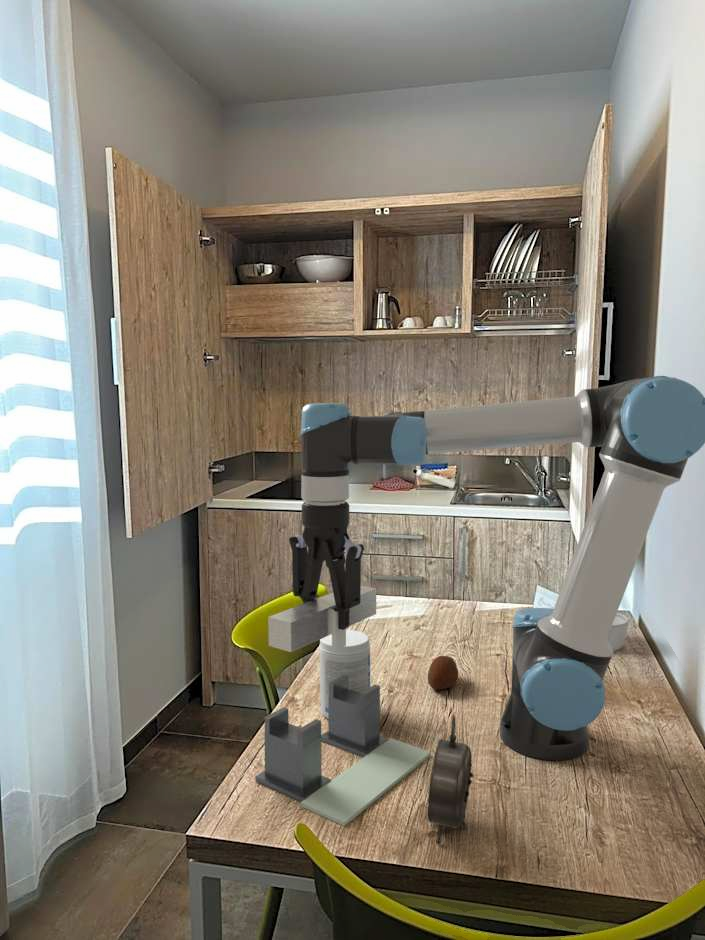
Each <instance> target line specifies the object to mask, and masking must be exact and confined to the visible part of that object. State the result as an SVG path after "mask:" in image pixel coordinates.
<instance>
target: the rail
mask: <svg viewBox="0 0 705 940" xmlns="http://www.w3.org/2000/svg"><path fill="white" fill-rule="evenodd" d="M335 607H336V604H335V599H334V594H333V592H331V593H328V594H325V595H323V596H319V597H318V598H316V599H314V600H312V601H309V602H306V603H304V604H303V603H301V604H298V605H296V606H293V607H291V608H288V609H285V610H283V611H281V612H278V613H275V614H272V615H270V616H268V619H267V620H268V625H267V626H268V647H271V648H274V649H278V650H282V651H286V652H289V653H293V652H295V651H297V650H299V649H301V648H304V647H307V646H309V645H311V644H314V643H315V642H318V641H320V639H322V638H324V637H327V636H329V635H331V634H332V609H333V608H335ZM375 615H377V588H374V587H370V586H365V585H361V595H360V604H359V605H357V606H354V607H352V608H350V609H349V627H351V626H353V625H355V624H358V623H360V622H361V621H364V620H367V619H369V618H371V617H373V616H375Z"/></svg>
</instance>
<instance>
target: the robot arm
mask: <svg viewBox="0 0 705 940" xmlns="http://www.w3.org/2000/svg"><path fill="white" fill-rule="evenodd" d="M300 428H301V429H300V433H299V435H300V445H301V447H300V448H301V450H300V451H301V452H300V453H301V455H300V456H301V493H300V494H301V495H300V497H301V499H302V500H303V501H304V502H303V503H302V504H301V523H302V526H304V529H303V531H302V534H298V535H294V536H290V537H289V539H288V541H289V545H290V549H291V555H292V559H291V560H292V561H291V563H292V564H291V565H292V594H293V596H294V597H299V598H300V599H301V601H302V604H304V603H306V602H309V601H312V600H314V599H317V598H320V595H318V592H319V584H320V579H321V574H322V568H323V564H324V562H325V566H326V567H327V569H328V571H329V575H330V581H331V587H332V593H333V594H334V599H335V604H336V607H335V608H333V609H332V650H335V651H336V650H338V649H340V648H342V647H344V646H346V630H347V629H349V627H350V626H349V609H350V608H352V607H354V606H357V605H359V604H360V595H361V586H362V585H361V584H362V583H361V582H362V581H361V580H362V579H361V578H362V577H361V574H362V573H361V572H362V568H361V567H362V557H363V554H364V551H365V547H364V545H363V544H362V543H360V544H356V543H354V542H353V541H352V540H350V536H349V532H348V527H349V524H350V504H349V502H348V501H347V500H348V499H349V498H350V465H377V466H378V465H380V466H382V465H384V466H386V465H387V466H400V467H406V466H419V465H423V464H424V462H425V461H426V457H427V455H432V454H433V455H435V454H447V453H458V452H460V453H461V452H470V451H485V450H498V449H507V448H508V449H509V448H521V447H524V448H525V447H533V446H535V447H536V446H545V445H546V446H548V445H559V444H571V443H572V444H573V443H580V444H581V445H583V447H585V448H594V447H595V448H596V447H597V448H598V447H599V448H600V447H601V449H600V451H599V454H598V455H599V458H600V460H601V462H602V464H603V466H604V472H603V473H602V477H601V479H600V483H599V485H598V488H597V490H596V493H595V496H594V498H593V501H592V504H591V507H590V509H589V512H588V515H587V518H586V520H585V523H584V525H583V528H582V530H581V534H580V536H579V540H578V541H577V545H576V547H575V550H574V553H573V556H572V559H571V561H570V564H569V566H568V569H567V572H566V575H565V578H564V579H563V580H564V581H563V583H562V586H561V589H560V592H559V593H558V596H557V600H556V602H555V605H554V607H553V608H551V607H549V608H548V607H529V608H523V609H520V610H518V611H516V612H515V613H514V617H513V624H512V625H511V626H512V627H511V628H512V630H513V633H512V638H513V639H512V656H511V658H512V659H511V660H512V661H511V663H512V664H511V690H510V691H511V692H510V694H509V698H508V699H507V702H506V704H505V707H504V710H503V713H502V714H501V718H500V722H499V736H500V739H501V740H502V742H503V743H504V744H505V745H506V746H508V747H509V748H510V749H512V750H514V751H516V752H517V753H519V754H521V755H523V756H528V757H530V758H531V757H532V758H535V759H540V760H548V761H564V760H569V759H571V760H572V759H576V758H578V757H580V756H583V755H584V754H585V753H586V752H587V751H588V749H589V745H590V731H589V726H588V725H590V724H592V723H594V721H595V720H596V719H597V718H598V717H599V716H600V714H601V713H602V710H603V708H604V706H605V700H606V687H605V684H604V678H605V675H606V672H607V670H608V667H609V665H610V662H611V659H612V657H613V656H614V655H613V654H614V651H613V649H612V647H611V645H610V643H609V640H608V634H609V632H610V629H611V627H612V624H613V621H614V619H615V616H616V614H617V613H618V610H619V608H620V606H621V603H622V600H623V598H624V595H625V592H626V590H627V588H628V585H629V582H630V579H631V578H632V574H633V572H634V569H635V566H636V563H637V561H638V558H639V555H640V554H641V552H642V548H643V545H644V543H645V541H646V540H645V539H646V538H647V536H648V532H649V529H650V527H651V524H652V522H653V520H654V517H655V515H656V514H655V513H656V511H657V509H658V507H659V504H660V501H661V499H662V495H663V493H664V490H665V489H666V488H667V487H669V486H671V485H673V484H676V483H677V482H680V480H681V478H682V475H683V473H684V470H685V468H686V466H687V463H688V460H689V459H690V458H691V457H693V456H694V455H695V454H696V453H698V452H699V451H700V450H701V448H702V447H704V446H705V396H704V394H703V393H702V392H701V391H700V390H699V389H698V388H697V387H696V386H695V385H693V384H691V383H689V382H687V381H685V380H683V379H680V378H676V377H671V376H670V377H669V376H667V375H666V376H665V375H655V376H650V377H642V378H641V377H639V378H634V379H629V380H626V381H623V382H619V383H616V384H615V383H614V384H610V385H605V386H601V387H595V388H586V389H583V388H582V389H581V390H580V391H579V392H578V393H577V394H576V395H575V396H565V397H554V398H544V399H534V400H522V401H514V402H513V401H512V402H501V403H493V404H492V403H491V404H482V405H469V406H461V407H459V406H458V407H449V408H439V409H427V410H422V411H421V410H419V411H417V410H416V411H408V412H407V411H406V412H403V411H395V412H389V413H388V414H385V415H380V416H379V415H377V416H375V415H373V416H372V415H371V416H369V415H368V416H360V415H359V416H358V415H357V416H356V415H351V412H350V406H349V405H348V404H347V403H344V402H342V403H340V402H338V403H335V402H334V403H333V402H330V403H329V402H321V403H320V402H318V403H315V402H313V403H307V404H306V405H304V406H303V408H302V410H301V427H300ZM344 551H345V552H344Z"/></svg>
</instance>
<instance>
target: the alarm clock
mask: <svg viewBox="0 0 705 940" xmlns="http://www.w3.org/2000/svg"><path fill="white" fill-rule="evenodd" d="M450 727H451V728H450V734H449V740H447V739H444V738H441V739H439V741H438V743H437V745H436V748H435V753H434V758H433V763H432V767H431V773H430V783H429V789H428V802H427V819H428V822H429V823H430V824H435V825H437V834H436V835H437V838H436V840H435V841H436V842H435V843H436V844H437V845H440V844H441V841H442V840H441V838H442V834H443V831H444V827H449V828H453V829H457V828H458V827H460V826H461V825H462V826H463V828H464V829H465V830H467V829H468V828H467V825H466V823H465V819H466V810H467V806H468V805H467V804H468V797H469V796H470V792H469V791H470V785H471V784H472V781H473V780H472V779H471V778H473V777H474V773H472V766H473V764H472V751H471V748H470V747H469V745H467V744H466V743H463V742H458V741H456V739H457V736H456V734H455V733H456V716H455V715H454V714H453V715H452V716H451V724H450Z"/></svg>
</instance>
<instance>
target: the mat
mask: <svg viewBox="0 0 705 940" xmlns="http://www.w3.org/2000/svg"><path fill="white" fill-rule="evenodd" d="M430 757H431V751H429V750H425V749H422V748H420V747H417V746H414V745H412V744H408V743H406V742H402V741H400V740H398V739H394V738H391V737H389V738H388V740H387V741H386V742H384V743H383V744H382V745H380V746H379V747H377V748H376V749H375V750H373V751H372V752H370V753H369V754H368V755H366V756H365V757H361V758H360V759H359V760H357V762H355V763H354V764H352V765H351V766H349V767H348V768H347V769H345V770H344V771H343V772H341V773H339V774H338V775H336V777H334V778H332V779H331V781H330V782H328V783H327V784H326V785H324V786H323V787H321V788H320V789H319V790H317V791H316V792H315V793H313V794H312V795H310V796H309V797H308V798H306V799H305V800H303V801H302V802H300V807H301V808H304V809H306V810H308V811H311V813H314V814H317V815H319V816H322V817H323V818H325V819H327V820H330V821H332V822H334V823H336V824H339V825H341V826H343V827H345V826H346V825H348V824H349V823H350V822H351V821H353V820H354V819H355V818H356V817H357V816H359V815H360V814H361V813H362V812H364V811H365V810H366V809H367V808H368V807H370V806H371V805H372V804H373V803H374V802H376V801H377V800H378V799H380V798H381V797H382V796H383V795H385V794H386V793H387V792H388V791H389V790H391V789H392V788H394V786H396V785H397V784H398V783H399V782H400V781H401V780H403V779H404V778H405V777H407V776H408V775H409V774H410V773H411V772H412V771H413V770H415V769H416V768H417V767H419V766H420V765H421V764H422V763H424V762H425V760H427V759H428V758H430Z"/></svg>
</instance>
